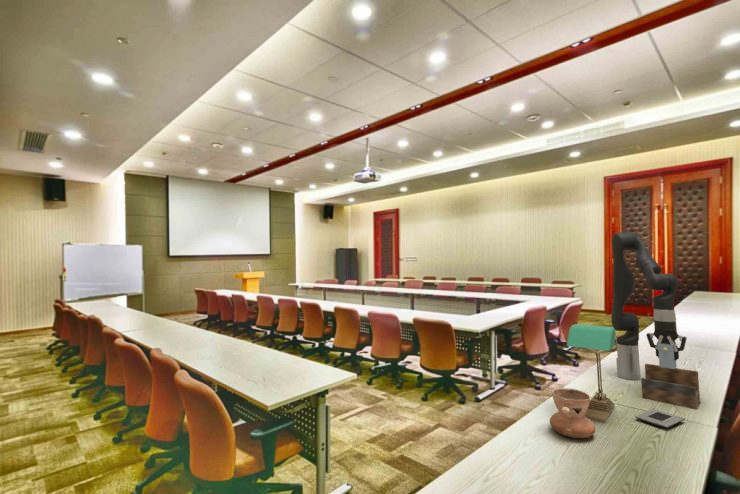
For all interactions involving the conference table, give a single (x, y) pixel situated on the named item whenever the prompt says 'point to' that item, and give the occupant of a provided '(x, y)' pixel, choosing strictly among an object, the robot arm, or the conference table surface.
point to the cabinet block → (666, 356)
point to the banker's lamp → (599, 340)
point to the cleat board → (671, 386)
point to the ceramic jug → (571, 413)
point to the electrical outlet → (659, 418)
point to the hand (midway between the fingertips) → (667, 358)
